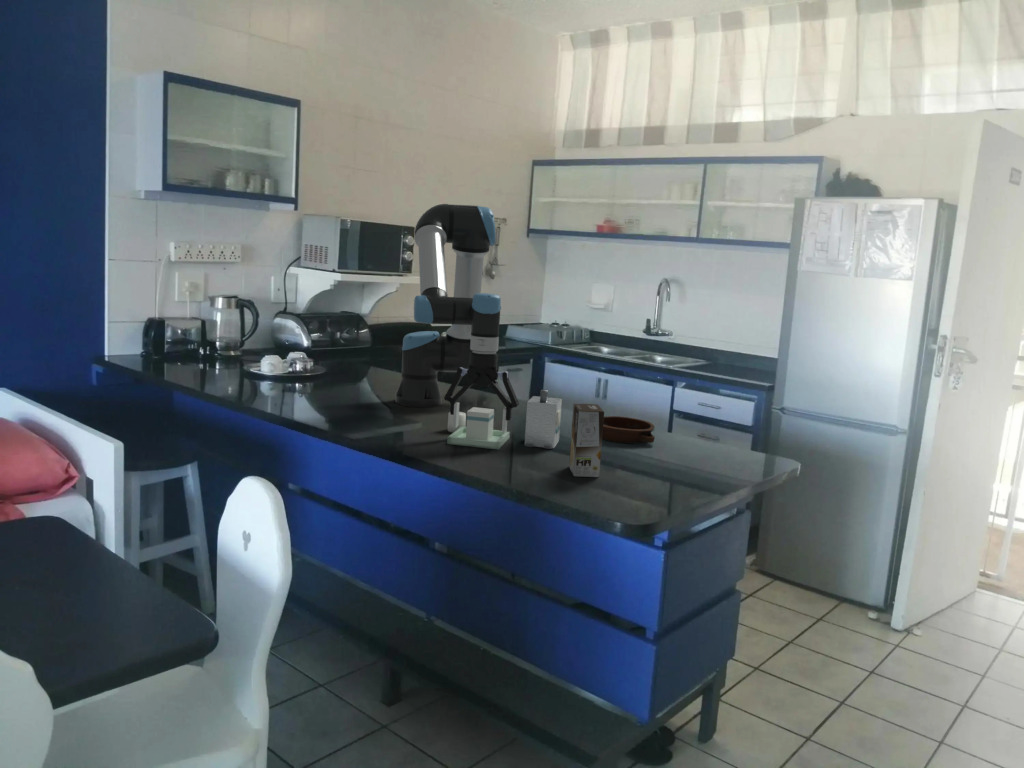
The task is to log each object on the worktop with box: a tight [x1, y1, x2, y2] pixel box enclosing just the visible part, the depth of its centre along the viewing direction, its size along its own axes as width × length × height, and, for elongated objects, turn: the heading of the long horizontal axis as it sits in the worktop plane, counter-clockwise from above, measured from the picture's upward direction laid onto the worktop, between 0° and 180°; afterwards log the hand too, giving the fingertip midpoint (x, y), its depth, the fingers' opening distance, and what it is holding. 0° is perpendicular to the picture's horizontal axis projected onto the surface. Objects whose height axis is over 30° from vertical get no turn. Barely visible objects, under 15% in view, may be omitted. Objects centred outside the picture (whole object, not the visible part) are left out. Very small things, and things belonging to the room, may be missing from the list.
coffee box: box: [568, 403, 605, 478], centre depth 199 cm, size 9×6×16 cm
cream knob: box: [447, 411, 467, 433], centre depth 235 cm, size 5×5×5 cm
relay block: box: [466, 406, 495, 441], centre depth 225 cm, size 6×6×8 cm
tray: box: [446, 426, 511, 450], centre depth 225 cm, size 14×14×2 cm
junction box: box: [524, 389, 563, 450], centre depth 226 cm, size 8×11×15 cm
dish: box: [602, 415, 656, 444], centre depth 238 cm, size 18×22×5 cm
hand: (479, 429), depth 225 cm, fingers open, 13 cm apart
